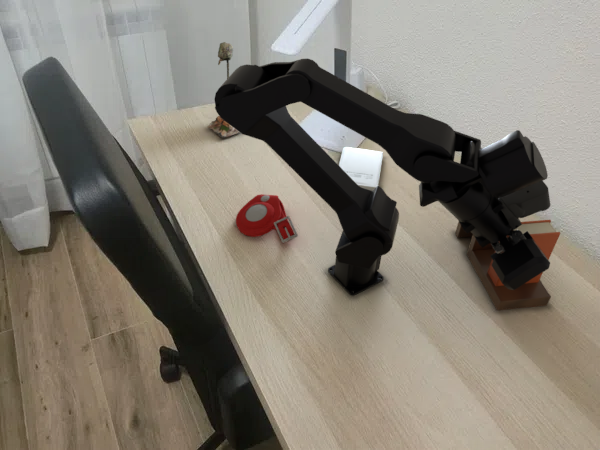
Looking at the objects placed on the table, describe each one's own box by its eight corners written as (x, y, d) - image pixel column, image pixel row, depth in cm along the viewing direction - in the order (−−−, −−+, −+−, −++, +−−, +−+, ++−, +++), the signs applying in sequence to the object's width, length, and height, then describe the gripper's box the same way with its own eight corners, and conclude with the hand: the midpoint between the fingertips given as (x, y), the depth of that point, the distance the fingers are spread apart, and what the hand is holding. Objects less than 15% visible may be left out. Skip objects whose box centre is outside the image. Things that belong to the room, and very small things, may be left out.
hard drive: (382, 158, 112) (376, 194, 103) (342, 153, 113) (333, 188, 104) (383, 151, 111) (377, 187, 102) (343, 146, 112) (334, 181, 103)
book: (495, 286, 83) (514, 236, 77) (487, 272, 85) (505, 223, 79) (538, 282, 84) (560, 233, 78) (529, 268, 86) (550, 219, 80)
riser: (497, 310, 82) (508, 282, 78) (454, 233, 95) (462, 206, 91) (546, 305, 83) (560, 277, 79) (498, 229, 96) (507, 202, 92)
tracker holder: (225, 229, 92) (246, 185, 98) (234, 245, 95) (254, 202, 101) (291, 235, 87) (309, 188, 93) (298, 252, 91) (315, 206, 96)
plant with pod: (264, 127, 120) (263, 37, 107) (218, 142, 115) (211, 49, 102) (245, 111, 125) (241, 24, 112) (200, 125, 120) (191, 35, 107)
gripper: (560, 209, 63) (610, 269, 72) (493, 126, 77) (541, 184, 86) (479, 264, 67) (535, 314, 76) (429, 175, 81) (481, 226, 90)
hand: (524, 255), depth 82 cm, fingers closed on book, 3 cm apart
